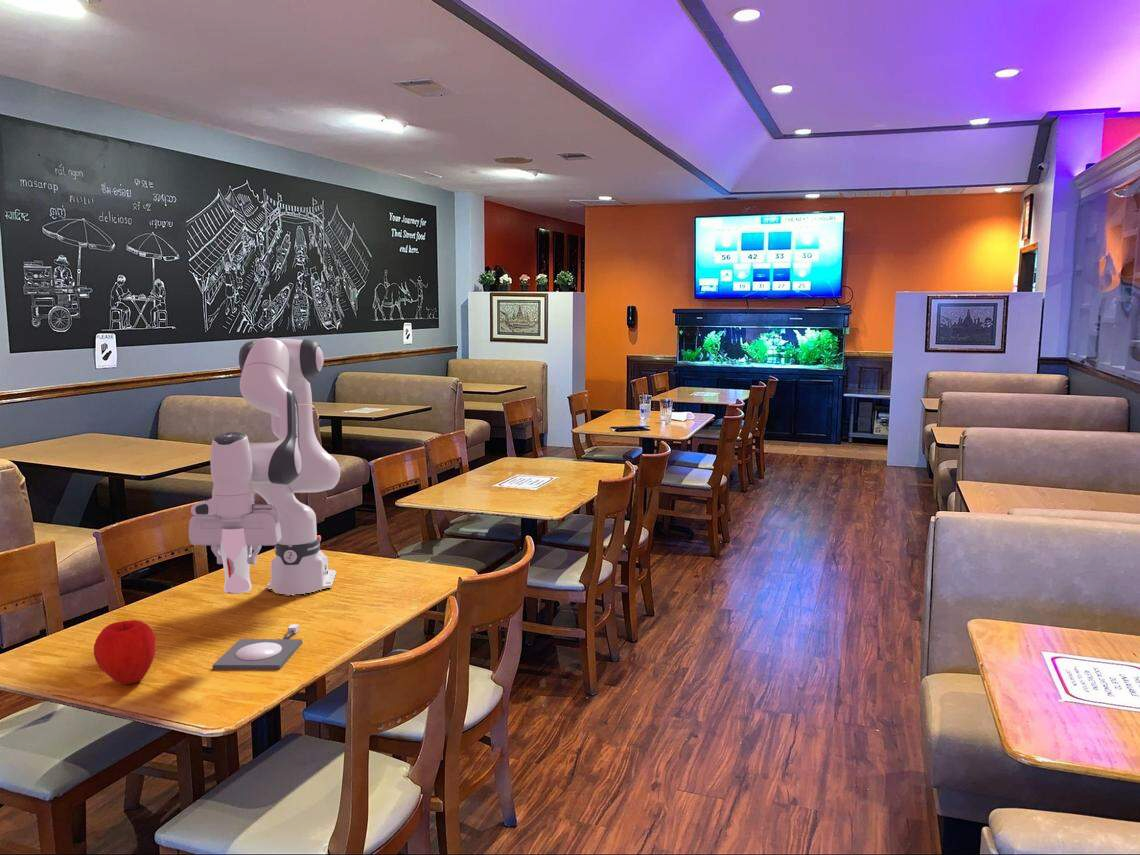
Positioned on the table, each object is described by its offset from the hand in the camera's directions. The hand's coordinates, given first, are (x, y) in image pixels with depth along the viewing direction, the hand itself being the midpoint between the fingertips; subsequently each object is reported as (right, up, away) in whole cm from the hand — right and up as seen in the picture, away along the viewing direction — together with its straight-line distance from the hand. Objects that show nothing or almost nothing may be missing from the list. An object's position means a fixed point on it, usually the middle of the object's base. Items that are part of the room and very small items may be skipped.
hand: (237, 563), depth 195 cm
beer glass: (0, -6, 0) cm, 6 cm away
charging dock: (+5, -21, +5) cm, 22 cm away
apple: (-19, -24, -12) cm, 33 cm away
